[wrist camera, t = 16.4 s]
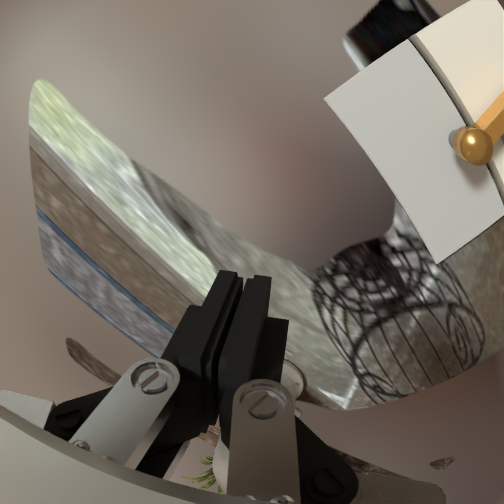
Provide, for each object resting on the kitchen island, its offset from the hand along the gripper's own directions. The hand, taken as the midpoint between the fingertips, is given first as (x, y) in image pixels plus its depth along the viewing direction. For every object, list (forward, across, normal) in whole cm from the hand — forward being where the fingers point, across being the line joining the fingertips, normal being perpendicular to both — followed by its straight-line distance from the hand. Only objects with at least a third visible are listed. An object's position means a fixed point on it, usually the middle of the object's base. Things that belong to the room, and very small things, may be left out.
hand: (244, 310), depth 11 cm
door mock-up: (+27, -21, -8) cm, 35 cm away
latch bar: (+24, -21, -9) cm, 33 cm away
